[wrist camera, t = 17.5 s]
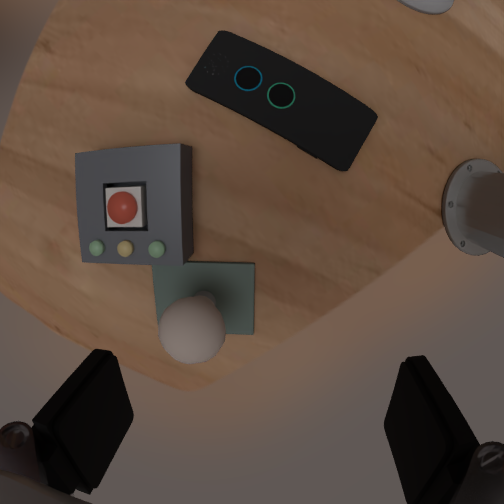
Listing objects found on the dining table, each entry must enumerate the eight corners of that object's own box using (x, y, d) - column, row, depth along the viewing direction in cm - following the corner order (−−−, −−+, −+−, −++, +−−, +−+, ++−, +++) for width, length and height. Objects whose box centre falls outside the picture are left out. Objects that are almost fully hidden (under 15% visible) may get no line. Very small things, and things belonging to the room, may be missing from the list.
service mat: (254, 262, 36) (254, 264, 36) (253, 332, 38) (253, 334, 38) (153, 260, 36) (151, 261, 36) (160, 327, 39) (158, 329, 38)
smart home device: (220, 26, 28) (380, 113, 30) (222, 32, 30) (375, 115, 32) (181, 86, 30) (345, 175, 32) (185, 89, 32) (341, 174, 34)
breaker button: (150, 184, 32) (138, 186, 28) (152, 221, 33) (140, 228, 29) (117, 186, 32) (102, 188, 29) (119, 221, 33) (104, 228, 30)
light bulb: (243, 311, 37) (235, 364, 26) (195, 331, 38) (174, 385, 27) (216, 263, 36) (197, 303, 25) (168, 286, 37) (135, 330, 26)
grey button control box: (192, 146, 33) (178, 142, 27) (193, 252, 36) (181, 268, 30) (97, 153, 33) (71, 153, 28) (102, 250, 36) (78, 264, 31)
